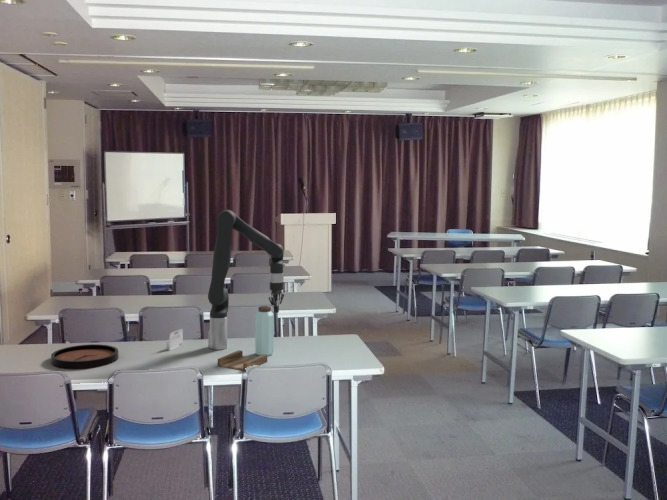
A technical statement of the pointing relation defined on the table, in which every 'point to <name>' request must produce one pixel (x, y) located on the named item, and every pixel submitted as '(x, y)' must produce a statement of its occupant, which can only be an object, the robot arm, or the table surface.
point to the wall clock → (84, 356)
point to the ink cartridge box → (175, 340)
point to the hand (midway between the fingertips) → (276, 312)
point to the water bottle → (264, 331)
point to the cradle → (240, 360)
